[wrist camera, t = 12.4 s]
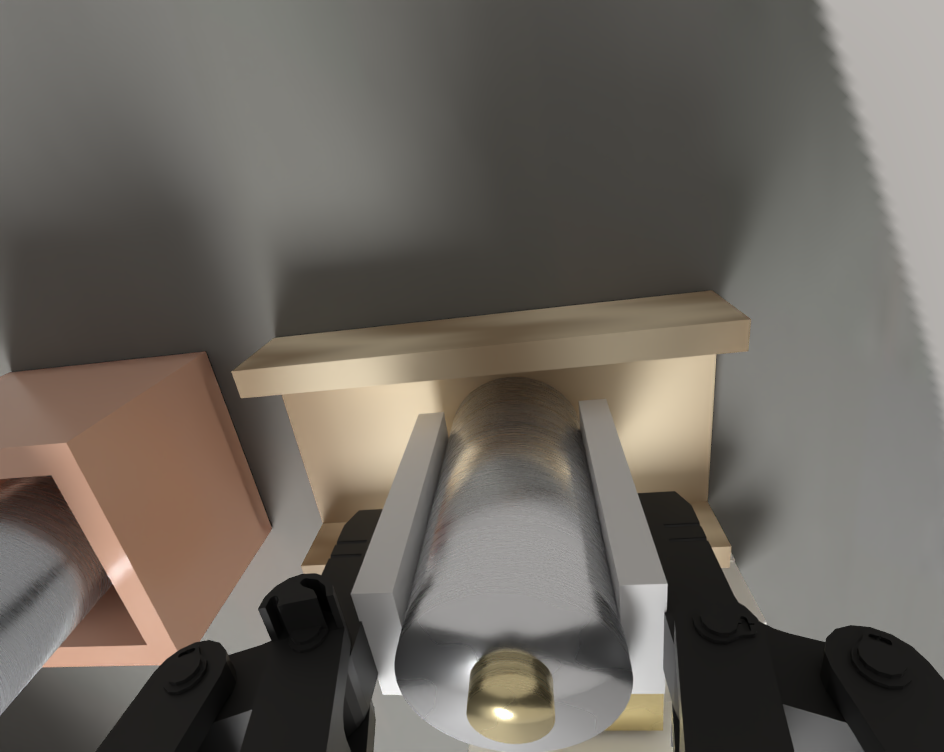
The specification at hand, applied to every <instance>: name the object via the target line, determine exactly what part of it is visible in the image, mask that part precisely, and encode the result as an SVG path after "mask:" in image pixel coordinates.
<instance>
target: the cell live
mask: <svg viewBox="0 0 944 752" xmlns="http://www.w3.org/2000/svg"><path fill="white" fill-rule="evenodd" d="M394 670H395V676H396V681H397V684H398V686H399V689H400V691H401V693H402V695H403V697H404V698H405V700H406V702H407V703H408V704H409V705H410V706H411V708H412V709H413V710H414V711H415V712H416V713H417V714H418V715H419V716H420V717H421V718H422V719H423V720H425V721H426V722H427V723H429V724H430V725H431V726H433V727H434V728H436V729H438V730H439V731H441V732H443V733H444V734H447V735H449V736H451V737H453V738H455V739H457V740H460V741H462V742H465V743H468V744H471V745H474V746H478V747H481V748H486V749H491V750H496V751H504V752H545V751H553V750H558V749H563V748H567V747H570V746H573V745H576V744H579V743H582V742H584V741H586V740H589V739H591V738H593V737H594V736H596V735H598V734H600V733H601V732H603V731H604V730H605V729H607V728H608V727H609V726H611V725H612V724H613V723H614V722H615V721H616V720H617V719H618V718H619V716H620V715H621V714H622V712H623V711H624V710H625V708H626V706H627V704H628V702H629V700H630V697H631V693H632V689H633V672H632V666H631V661H630V657H629V652H628V647H627V642H626V638H625V634H624V631H623V628H622V625H621V623H620V618H619V613H618V609H617V604H616V599H615V594H614V589H613V585H612V580H611V575H610V570H609V565H608V561H607V556H606V551H605V546H604V541H603V537H602V532H601V527H600V522H599V517H598V513H597V508H596V503H595V498H594V493H593V489H592V484H591V479H590V474H589V469H588V465H587V460H586V455H585V450H584V445H583V441H582V436H581V431H580V422H579V419H578V416H577V413H576V411H575V409H574V407H573V406H572V404H571V403H570V402H569V400H568V399H567V398H566V397H565V396H564V395H563V394H562V393H560V392H559V391H558V390H557V389H555V388H553V387H552V386H550V385H548V384H546V383H544V382H541V381H538V380H535V379H531V378H526V377H505V378H499V379H496V380H492V381H489V382H487V383H485V384H483V385H481V386H479V387H478V388H476V389H475V390H473V391H472V392H471V393H469V395H468V396H467V397H466V398H465V399H464V400H463V401H462V403H461V404H460V405H459V407H458V409H457V411H456V413H455V416H454V419H453V423H452V427H451V431H450V435H449V439H448V444H447V448H446V452H445V456H444V460H443V464H442V468H441V472H440V476H439V480H438V484H437V488H436V492H435V496H434V500H433V504H432V508H431V512H430V516H429V520H428V524H427V528H426V532H425V536H424V541H423V545H422V549H421V553H420V557H419V561H418V565H417V569H416V573H415V577H414V581H413V585H412V589H411V593H410V597H409V601H408V605H407V609H406V613H405V617H404V621H403V625H402V629H401V633H400V637H399V642H398V646H397V650H396V655H395V660H394Z"/></svg>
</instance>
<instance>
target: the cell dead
mask: <svg viewBox="0 0 944 752" xmlns="http://www.w3.org/2000/svg"><path fill="white" fill-rule="evenodd" d="M111 586H112V582H111V580H110V578H109V577H108V575H107V573H106V571H105V569H104V568H103V566H102V564H101V562H100V561H99V559H98V557H97V555H96V554H95V552H94V550H93V548H92V546H91V545H90V543H89V541H88V539H87V538H86V536H85V534H84V532H83V531H82V529H81V527H80V525H79V523H78V522H77V520H76V518H75V516H74V515H73V513H72V511H71V509H70V507H69V506H68V504H67V502H66V500H65V499H64V497H63V495H62V493H61V492H60V490H59V488H58V486H57V484H56V483H55V481H54V479H53V477H52V476H51V475H48V476H34V477H21V478H10V479H9V480H7V481H6V482H5V483H3V484H2V485H0V715H1V714H2V713H3V712H4V711H5V710H6V708H7V707H8V706H9V705H10V704H11V703H12V701H13V700H14V699H15V698H16V697H17V696H18V694H19V693H20V692H21V691H22V690H23V689H24V687H25V686H26V685H27V684H28V683H29V682H30V680H31V679H32V678H33V677H34V676H35V675H36V673H37V672H38V671H39V670H40V669H41V668H42V666H43V665H44V664H45V663H46V662H47V660H48V659H49V658H50V657H51V656H52V655H53V653H54V652H55V651H56V650H57V649H58V648H59V646H60V645H61V644H62V643H63V642H64V641H65V639H66V638H67V637H68V636H69V635H70V634H71V632H72V631H73V630H74V629H75V628H76V627H77V625H78V624H79V623H80V622H81V621H82V620H83V618H84V617H85V616H86V615H87V614H88V613H89V611H90V610H91V609H92V608H93V607H94V606H95V604H96V603H97V602H98V601H99V600H100V598H101V597H102V596H103V595H104V594H105V593H106V591H107V590H108V589H109V588H110V587H111Z"/></svg>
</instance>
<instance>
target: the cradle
mask: <svg viewBox="0 0 944 752" xmlns="http://www.w3.org/2000/svg"><path fill="white" fill-rule="evenodd" d="M721 569H722V571H723V573H724V575H725V577H726V579H727V581H728V583H729V586H730V588H731V590H732V592H733V594H734V596H735V597H736V599H737V601H738V602H739V603H740V604H742V605H744V606H745V607H746V608H748V609H749V610H750V611H751V612H752V613H753V614H754V615H755V616H756V617H757V618H758V620H759V621H760V622H762V623H764V624H766V621H765V619H764V617H763V615H762V613H761V611H760V609H759V607H758V606H757V604H756V602H755V600H754V598H753V596H752V594H751V592H750V590H749V588H748V586H747V584H746V583H745V581H744V579H743V577H742V575H741V573H740V571H739V569H738V567H737V565H736V563H735V559H734V557H733V555H732V553H731V557H730V568H721ZM671 718H672V700H671V697H670V693H669V689H668V685H667V682H666V678H665V694H664V711H663V731H603V732H601V733H600V734H598V735H596V736H594V737H593V738H591V739H589V740H586V741H584V742H582V743H579V744H576V745H573V746H570V747H567V748H563V749H558V750H553V751H545V752H673V747H671ZM468 752H504V751H496V750H491V749H486V748H481V747H478V746H474V745H471V744H469V749H468Z"/></svg>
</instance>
